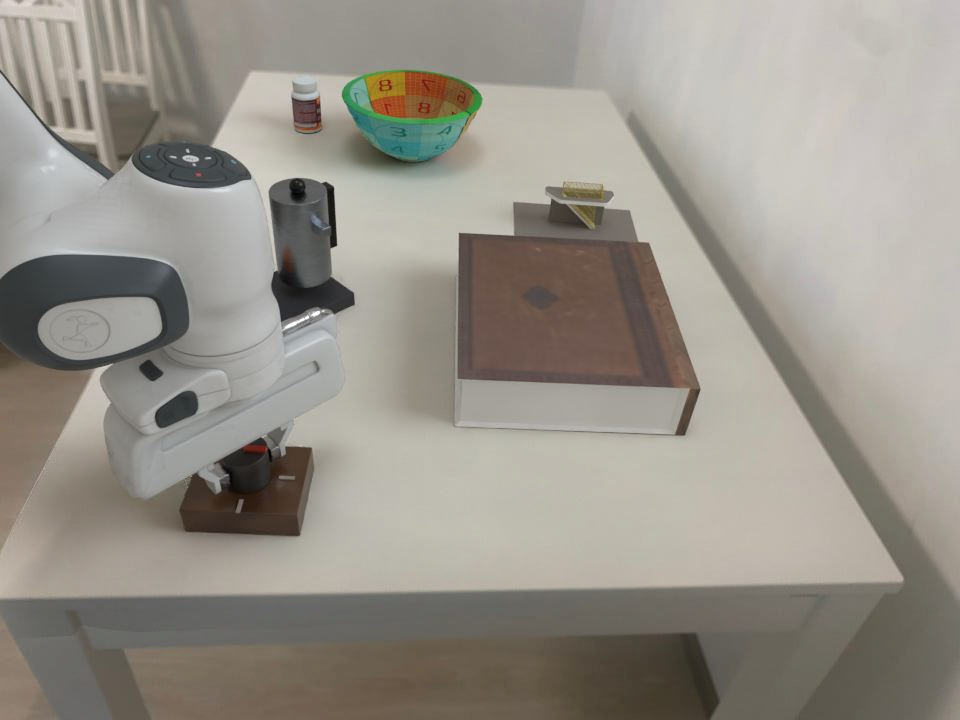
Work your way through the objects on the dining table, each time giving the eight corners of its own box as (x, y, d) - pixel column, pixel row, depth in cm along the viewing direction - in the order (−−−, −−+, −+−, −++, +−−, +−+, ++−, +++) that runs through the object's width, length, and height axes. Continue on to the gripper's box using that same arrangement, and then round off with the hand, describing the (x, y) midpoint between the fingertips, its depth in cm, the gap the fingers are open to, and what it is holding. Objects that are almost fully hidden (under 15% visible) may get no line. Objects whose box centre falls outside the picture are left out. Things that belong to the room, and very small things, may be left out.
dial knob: (220, 492, 67) (213, 463, 65) (231, 459, 70) (225, 429, 68) (266, 494, 67) (261, 465, 65) (275, 461, 70) (271, 431, 68)
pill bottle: (324, 132, 132) (321, 84, 127) (297, 135, 131) (292, 86, 125) (318, 121, 136) (315, 73, 130) (291, 123, 134) (287, 75, 129)
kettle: (308, 301, 89) (299, 205, 81) (267, 271, 93) (255, 176, 85) (360, 278, 93) (357, 184, 85) (319, 250, 97) (312, 157, 89)
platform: (641, 251, 109) (650, 210, 105) (515, 242, 109) (520, 201, 105) (629, 210, 119) (638, 171, 114) (513, 201, 118) (518, 162, 114)
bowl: (316, 148, 127) (312, 88, 121) (413, 114, 141) (414, 59, 134) (409, 198, 117) (410, 135, 110) (505, 156, 130) (511, 98, 124)
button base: (250, 353, 86) (246, 328, 84) (203, 312, 91) (199, 288, 89) (354, 304, 95) (354, 280, 93) (306, 269, 100) (304, 246, 98)
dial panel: (184, 532, 67) (178, 509, 65) (209, 463, 74) (204, 440, 72) (299, 537, 68) (296, 514, 66) (314, 467, 74) (312, 445, 72)
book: (638, 284, 103) (649, 242, 98) (685, 435, 81) (700, 389, 77) (456, 276, 101) (458, 232, 97) (454, 426, 80) (457, 379, 76)
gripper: (312, 283, 67) (321, 399, 76) (76, 385, 55) (120, 509, 64) (357, 316, 64) (362, 433, 73) (117, 432, 52) (157, 556, 61)
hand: (247, 470), depth 68 cm, fingers open, 4 cm apart
